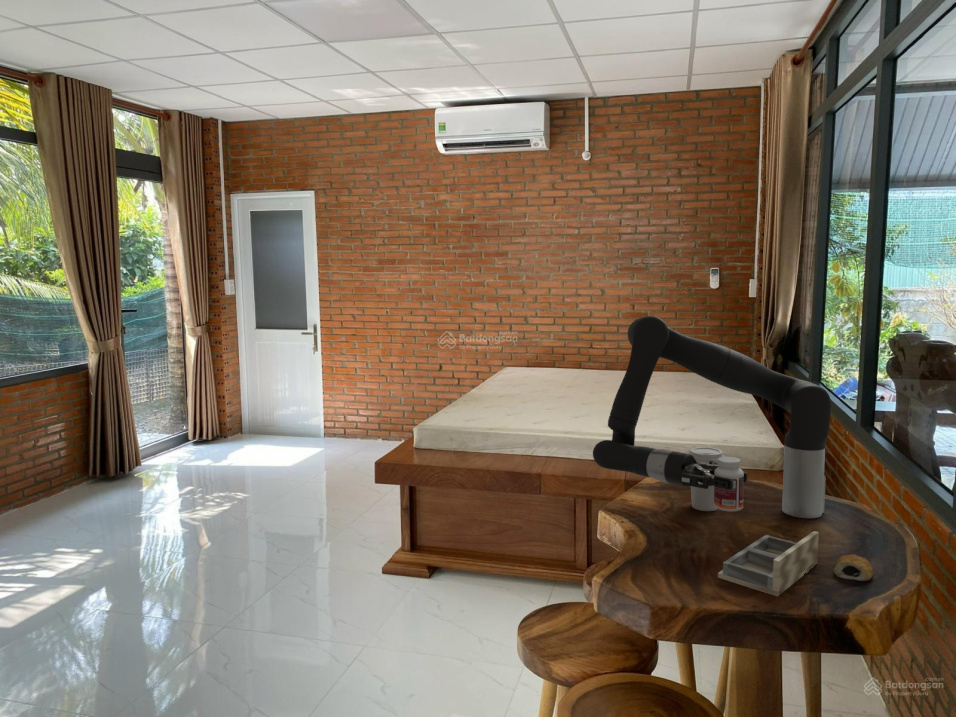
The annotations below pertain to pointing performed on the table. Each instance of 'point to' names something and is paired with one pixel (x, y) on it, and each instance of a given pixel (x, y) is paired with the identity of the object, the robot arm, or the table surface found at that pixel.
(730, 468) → the pill bottle
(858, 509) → the table surface
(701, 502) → the coffee cup
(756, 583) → the bottle rack
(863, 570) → the pastry
